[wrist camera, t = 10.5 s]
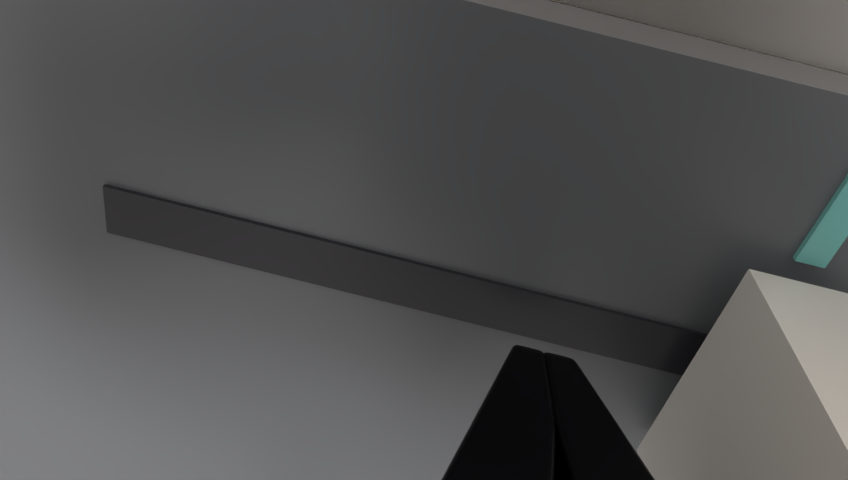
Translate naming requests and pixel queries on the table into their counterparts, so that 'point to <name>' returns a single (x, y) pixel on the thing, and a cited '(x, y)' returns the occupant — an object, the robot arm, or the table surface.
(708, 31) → the table surface
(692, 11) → the table surface
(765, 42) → the table surface
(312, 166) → the console
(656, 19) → the table surface
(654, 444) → the fader
